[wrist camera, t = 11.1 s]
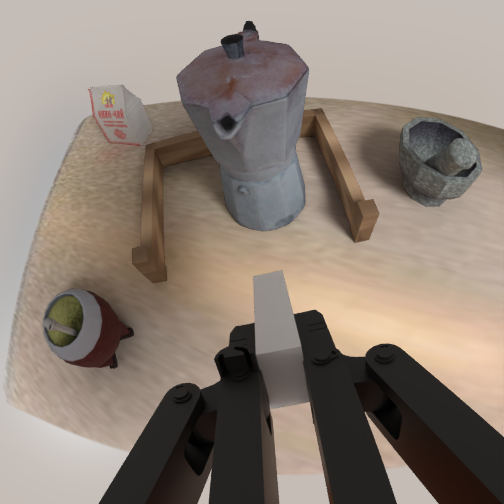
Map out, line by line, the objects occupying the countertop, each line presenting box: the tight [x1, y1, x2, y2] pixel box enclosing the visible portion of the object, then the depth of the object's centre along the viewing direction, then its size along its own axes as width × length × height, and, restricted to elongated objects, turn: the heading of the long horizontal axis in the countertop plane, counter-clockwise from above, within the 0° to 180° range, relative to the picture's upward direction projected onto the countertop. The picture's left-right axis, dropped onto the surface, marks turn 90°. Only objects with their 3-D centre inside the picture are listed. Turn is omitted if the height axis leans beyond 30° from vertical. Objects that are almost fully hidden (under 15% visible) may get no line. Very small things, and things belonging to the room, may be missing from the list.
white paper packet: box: [88, 85, 154, 146], centre depth 39 cm, size 4×7×10 cm, turn 70°
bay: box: [132, 108, 379, 283], centre depth 33 cm, size 17×23×5 cm
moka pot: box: [177, 21, 309, 231], centre depth 26 cm, size 10×15×20 cm, turn 178°
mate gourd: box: [43, 289, 134, 369], centre depth 23 cm, size 8×8×15 cm
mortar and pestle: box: [399, 117, 482, 207], centre depth 28 cm, size 11×9×12 cm
